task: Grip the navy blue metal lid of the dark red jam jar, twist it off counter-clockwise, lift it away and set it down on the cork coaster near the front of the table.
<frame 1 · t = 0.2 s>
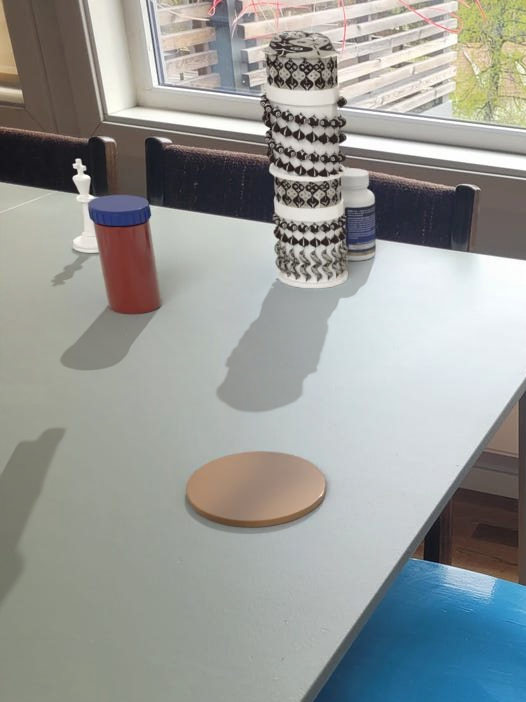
lid: (118, 206, 103), point 10 cm above the table, screwed on, not yet turned
pill bottle: (354, 256, 126), on the table
decorative candle: (312, 277, 119), on the table
coaster: (257, 490, 80), on the table
jar: (135, 304, 109), on the table
chess piece: (94, 248, 123), on the table
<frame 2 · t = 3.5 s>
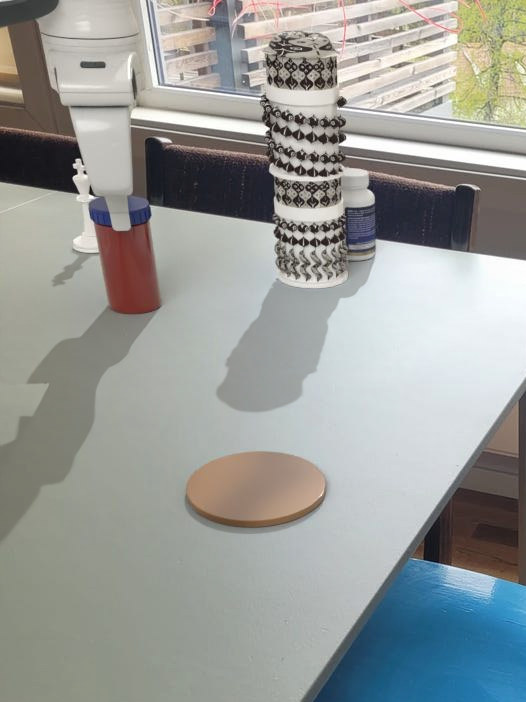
hand: (122, 218, 103), 9 cm above the table, tool pointing down, fingers closed on lid, 6 cm apart
lid: (119, 206, 103), point 10 cm above the table, screwed on, not yet turned, touching gripper
everything else where it was.
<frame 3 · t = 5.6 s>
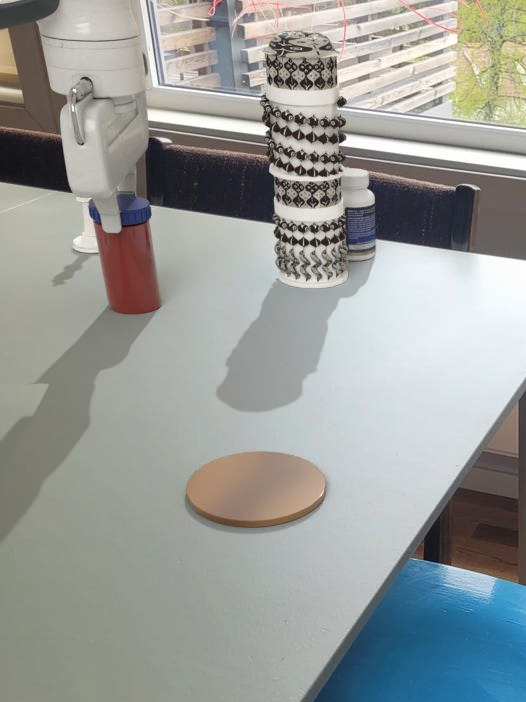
hand: (121, 219, 103), 9 cm above the table, tool pointing down, fingers closed on lid, 6 cm apart
lid: (119, 205, 103), point 10 cm above the table, off its thread, touching gripper
everything else where it was.
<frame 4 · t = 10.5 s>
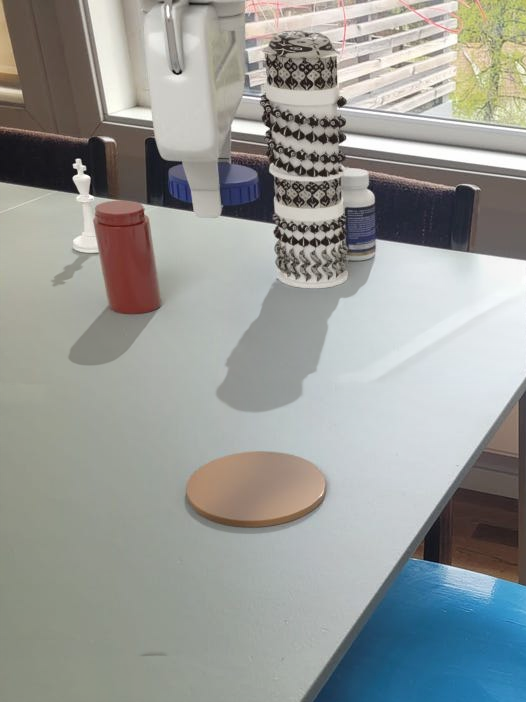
hand: (214, 199, 70), 21 cm above the table, tool pointing down, fingers closed on lid, 6 cm apart
lid: (213, 177, 69), point 23 cm above the table, off its thread, touching gripper
everything else where it was.
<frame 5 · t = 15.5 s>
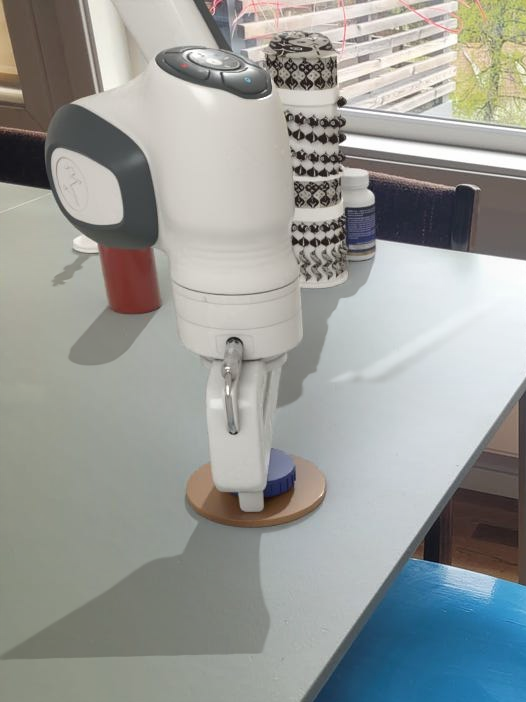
hand: (256, 482, 80), 1 cm above the table, tool pointing down, fingers closed on lid, 6 cm apart
lid: (256, 467, 79), point 2 cm above the table, off its thread, touching gripper
everything else where it was.
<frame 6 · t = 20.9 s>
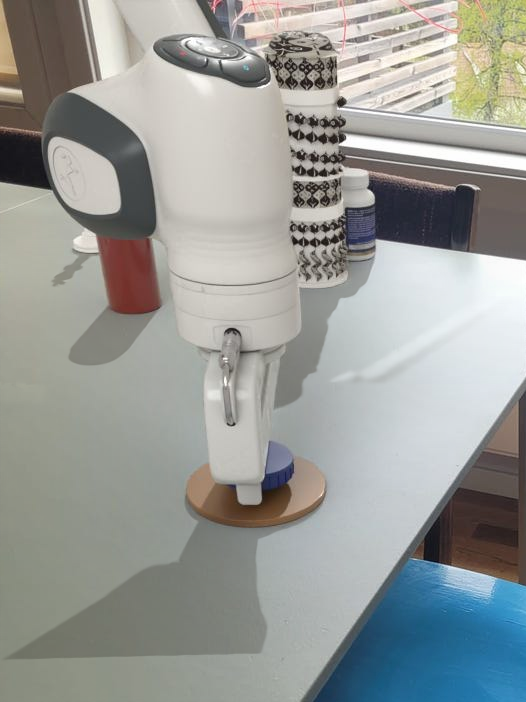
hand: (254, 476, 79), 1 cm above the table, tool pointing down, fingers closed on lid, 6 cm apart
lid: (254, 459, 78), point 3 cm above the table, off its thread, touching gripper
everything else where it was.
when the fingers open (2 cm above the table, at t = 26.2 s): lid drops 2 cm, resting on coaster.
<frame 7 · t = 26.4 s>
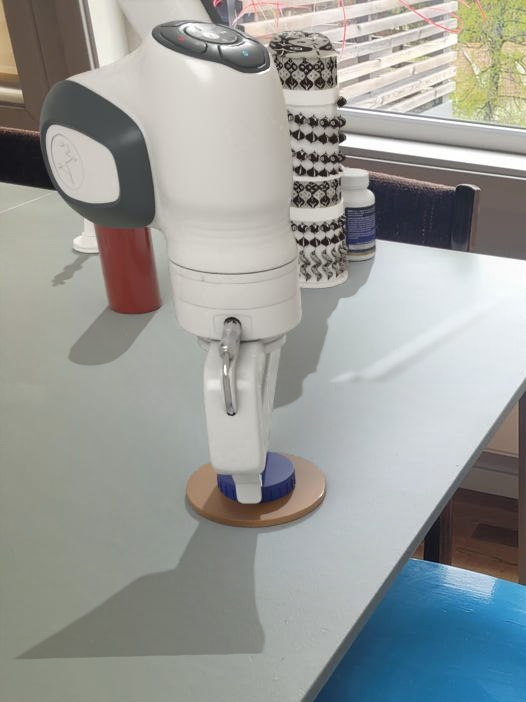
hand: (255, 467, 79), 2 cm above the table, tool pointing down, fingers open, 8 cm apart
lid: (255, 471, 79), point 2 cm above the table, off its thread, touching coaster
everything else where it was.
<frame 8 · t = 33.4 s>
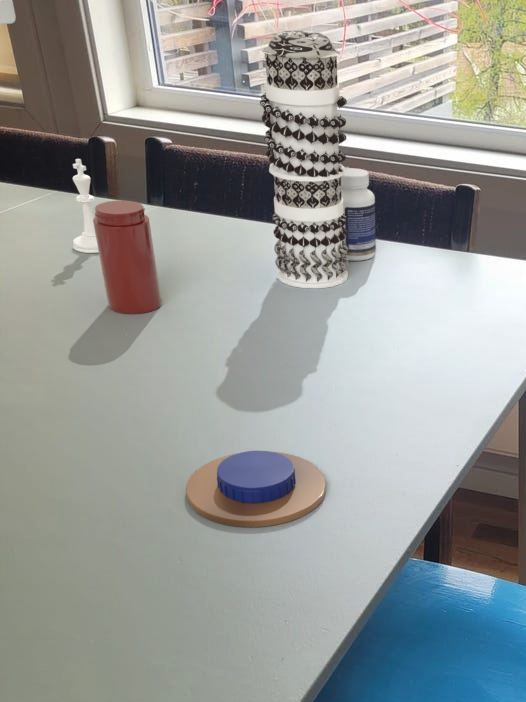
nothing on the table moved.
at the end: lid came off its thread; lid inside the target area on the coaster (0.0 cm from its centre), point 1.7 cm above the coaster's base; the gripper is holding nothing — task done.
